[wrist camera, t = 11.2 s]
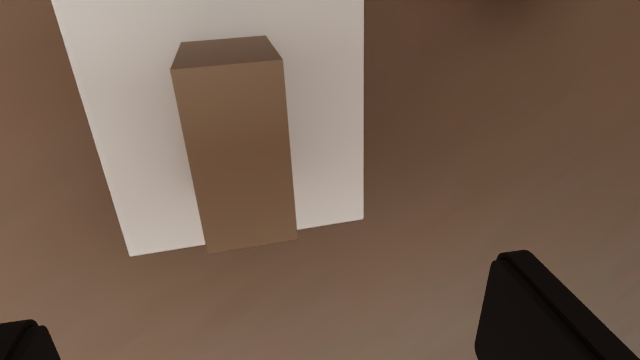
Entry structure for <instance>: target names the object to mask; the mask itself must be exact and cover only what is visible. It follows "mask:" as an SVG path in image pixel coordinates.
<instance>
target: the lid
mask: <svg viewBox="0 0 640 360" xmlns="http://www.w3.org/2000/svg"><path fill="white" fill-rule="evenodd" d="M51 1H52V5H53V8H54V11H55V14H56V18H57V21H58V24H59V27H60V31H61V34H62V37H63V40H64V44H65V47H66V50H67V53H68V57H69V60H70V63H71V67H72V70H73V73H74V76H75V80H76V83H77V86H78V89H79V93H80V96H81V99H82V102H83V106H84V109H85V112H86V115H87V119H88V122H89V125H90V128H91V132H92V135H93V138H94V141H95V145H96V148H97V151H98V155H99V158H100V161H101V164H102V168H103V171H104V174H105V177H106V181H107V184H108V187H109V190H110V194H111V197H112V200H113V203H114V207H115V210H116V213H117V216H118V220H119V223H120V226H121V229H122V233H123V236H124V239H125V242H126V246H127V249H128V252H129V256H137V255H143V254H149V253H155V252H161V251H168V250H174V249H180V248H186V247H193V246H199V245H206V250H207V254H213V253H219V252H225V251H231V250H237V249H243V248H249V247H255V246H262V245H268V244H274V243H280V242H286V241H292V240H298V235H297V230H298V229H305V228H311V227H317V226H323V225H330V224H336V223H342V222H348V221H355V220H361V219H363V167H364V0H51Z"/></svg>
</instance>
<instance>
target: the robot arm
mask: <svg viewBox="0 0 640 360" xmlns="http://www.w3.org/2000/svg"><path fill="white" fill-rule="evenodd" d="M475 352H476V355H477V358H478V360H640V359H639V358H638V357H637V356H636V355H635V354H634V353H633V352H632V351H631V350H630V349H629V348H628V347H627V346H626V345H625V344H624V343H623V342H622V341H621V340H620V339H619V338H618V337H616V336H615V335H614V334H613V333H612V332H611V331H610V330H609V329H608V328H607V327H606V326H605V325H604V324H603V323H602V322H601V321H600V320H599V319H598V318H597V317H596V316H595V315H594V314H593V313H592V312H591V311H590V310H589V309H588V308H587V307H586V306H585V305H584V304H583V303H582V302H581V301H580V300H579V299H578V298H577V297H576V296H575V295H574V294H573V293H572V292H571V291H570V290H569V289H568V288H567V287H566V286H564V285H563V284H562V283H561V282H560V281H559V280H558V279H557V278H556V277H555V276H554V275H553V274H552V273H551V272H550V271H549V270H548V269H547V268H546V267H545V266H544V265H543V264H542V263H541V262H540V261H539V260H538V259H537V258H536V257H535V256H534V255H533V254H532V253H531V252H529V251H527V250H519V251H512V252H505V253H500V254H499V255H498V257H497V259H496V260H495V261H493V262H492V264H491V267H490V272H489V276H488V281H487V286H486V291H485V296H484V301H483V306H482V311H481V315H480V320H479V325H478V330H477V335H476V340H475ZM0 360H61V359H60V357H59V354H58V352H57V350H56V348H55V345H54V343H53V341H52V338H51V336H50V334H49V331H48V329H47V328H46V327H45V326H44V325H42V326H38V324H37V323H36V321H34V320H33V319H29V320H22V321H15V322H8V323H1V324H0Z"/></svg>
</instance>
